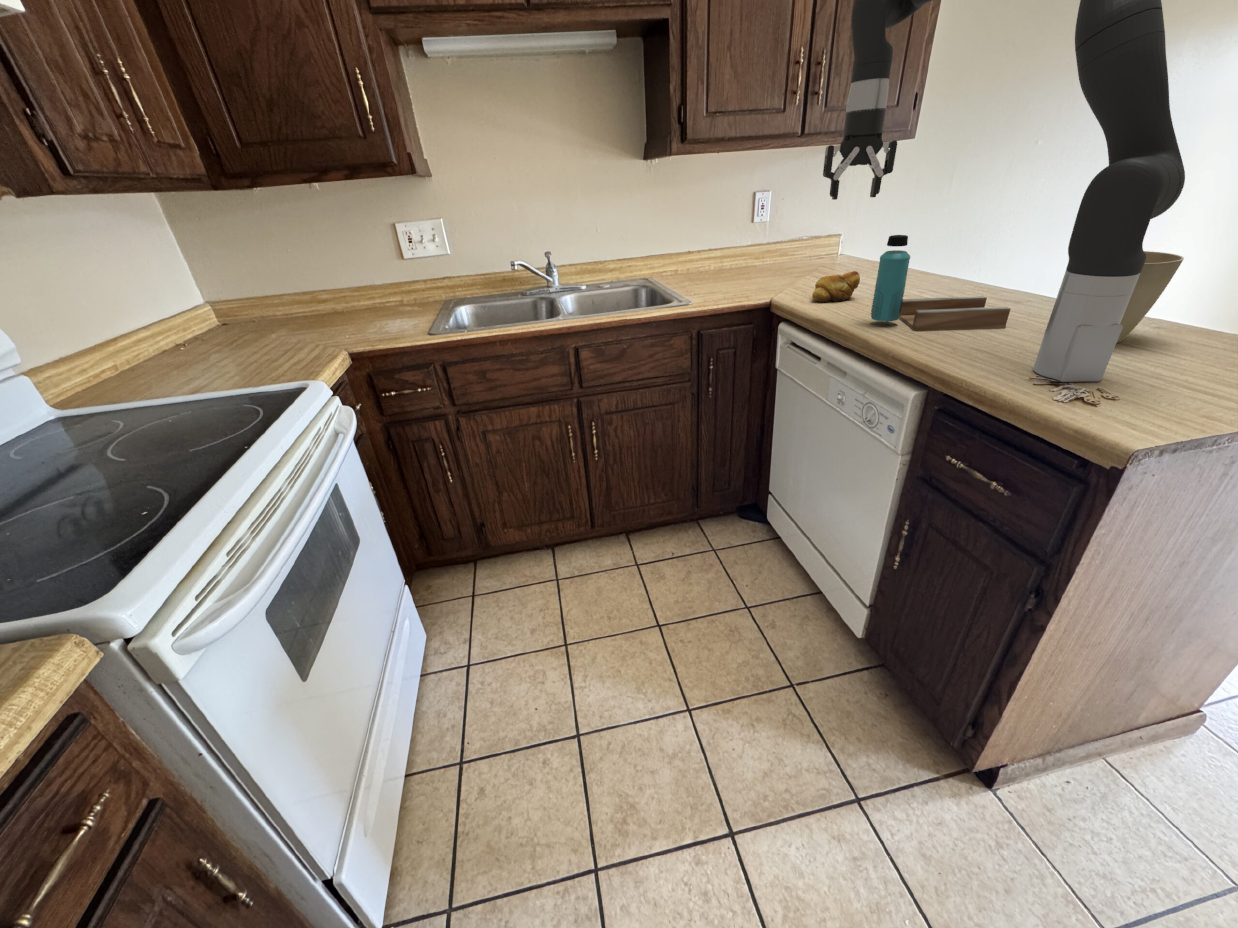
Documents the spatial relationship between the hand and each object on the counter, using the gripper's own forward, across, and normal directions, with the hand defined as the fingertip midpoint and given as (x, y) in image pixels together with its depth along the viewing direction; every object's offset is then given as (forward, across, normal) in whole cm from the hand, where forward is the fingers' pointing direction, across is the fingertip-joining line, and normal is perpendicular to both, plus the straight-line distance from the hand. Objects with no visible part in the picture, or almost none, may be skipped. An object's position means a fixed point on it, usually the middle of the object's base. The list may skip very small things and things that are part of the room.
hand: (853, 198), depth 114 cm
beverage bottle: (+28, +11, 0) cm, 30 cm away
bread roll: (+28, +5, +29) cm, 41 cm away
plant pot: (+28, +48, -16) cm, 58 cm away
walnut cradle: (+28, +25, 0) cm, 38 cm away
